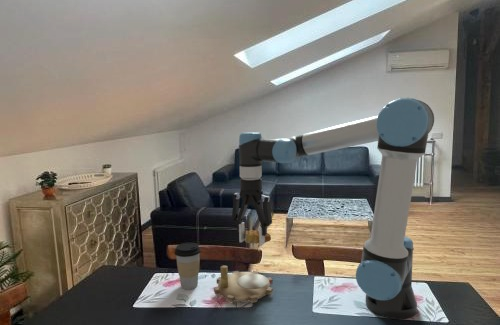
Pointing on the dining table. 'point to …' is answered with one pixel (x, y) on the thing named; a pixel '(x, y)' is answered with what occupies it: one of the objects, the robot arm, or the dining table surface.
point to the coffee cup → (188, 264)
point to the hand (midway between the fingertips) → (252, 242)
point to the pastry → (255, 236)
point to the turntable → (243, 285)
